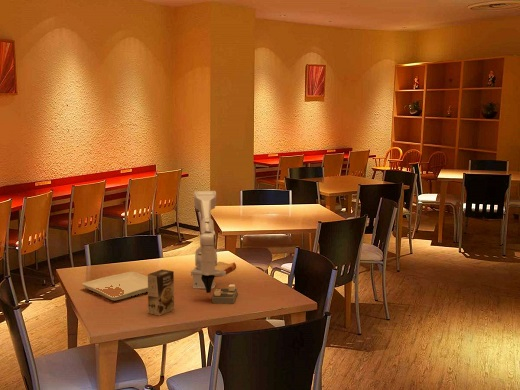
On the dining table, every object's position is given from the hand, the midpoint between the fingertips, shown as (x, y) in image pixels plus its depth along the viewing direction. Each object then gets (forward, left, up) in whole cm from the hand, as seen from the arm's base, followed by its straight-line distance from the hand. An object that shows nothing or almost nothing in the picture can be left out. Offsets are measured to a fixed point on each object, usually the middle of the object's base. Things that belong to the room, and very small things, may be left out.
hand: (208, 292), depth 251 cm
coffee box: (-17, -14, -4) cm, 22 cm away
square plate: (-41, +11, -4) cm, 42 cm away
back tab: (+9, +7, -1) cm, 11 cm away
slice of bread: (-1, +45, -4) cm, 46 cm away
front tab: (+4, 0, -1) cm, 4 cm away
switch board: (+6, +4, -4) cm, 8 cm away
